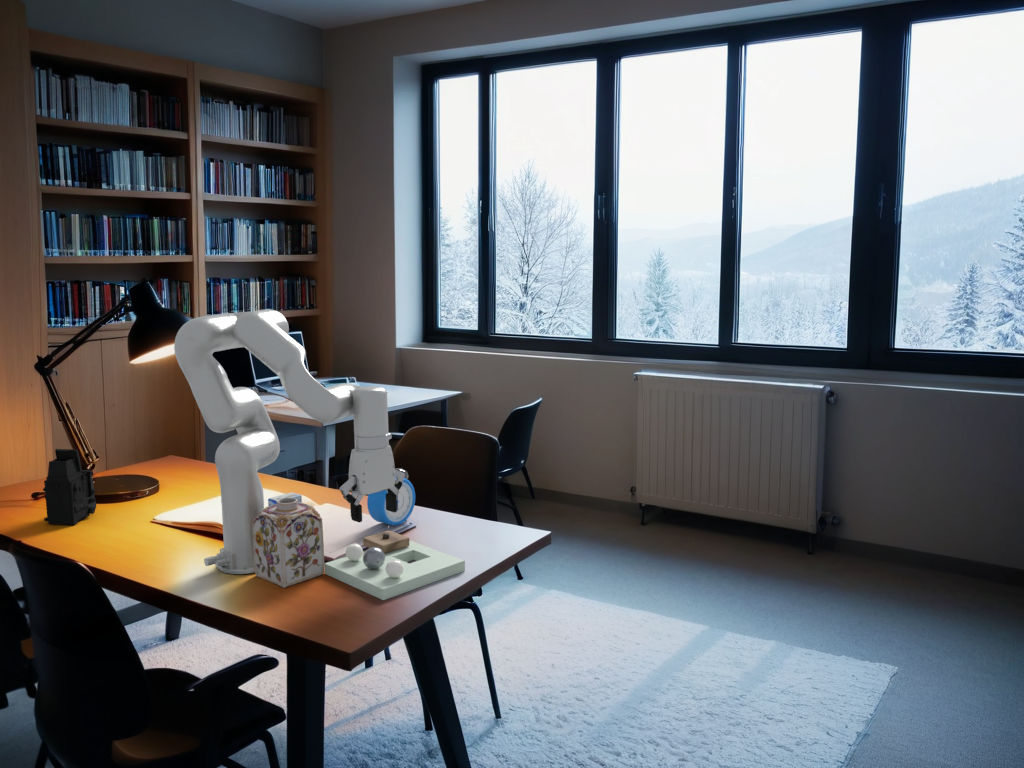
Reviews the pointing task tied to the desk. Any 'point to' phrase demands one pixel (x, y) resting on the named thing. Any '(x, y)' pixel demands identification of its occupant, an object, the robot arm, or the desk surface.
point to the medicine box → (289, 495)
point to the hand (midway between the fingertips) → (374, 516)
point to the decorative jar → (288, 543)
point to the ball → (373, 558)
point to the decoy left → (354, 552)
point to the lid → (386, 541)
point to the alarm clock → (404, 504)
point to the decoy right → (394, 568)
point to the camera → (68, 489)
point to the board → (415, 574)
